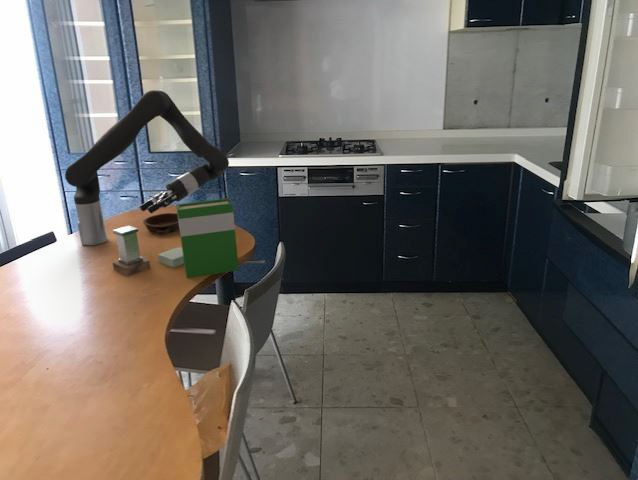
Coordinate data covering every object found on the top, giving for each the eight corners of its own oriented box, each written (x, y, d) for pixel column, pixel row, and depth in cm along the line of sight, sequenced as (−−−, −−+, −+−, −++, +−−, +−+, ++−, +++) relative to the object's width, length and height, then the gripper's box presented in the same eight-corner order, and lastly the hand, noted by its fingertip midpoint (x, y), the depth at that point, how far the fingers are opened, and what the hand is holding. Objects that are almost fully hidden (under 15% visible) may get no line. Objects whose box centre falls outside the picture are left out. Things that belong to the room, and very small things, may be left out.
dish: (140, 239, 210) (138, 228, 208) (149, 223, 230) (147, 212, 228) (183, 236, 212) (181, 225, 210) (188, 220, 232) (187, 209, 231)
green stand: (173, 267, 180) (172, 259, 179) (158, 261, 186) (157, 254, 185) (194, 259, 186) (193, 252, 185) (179, 254, 192) (178, 247, 191)
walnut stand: (127, 276, 174) (126, 268, 173) (113, 270, 180) (112, 262, 179) (150, 268, 180) (149, 260, 179) (136, 262, 186) (135, 254, 185)
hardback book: (235, 262, 183) (228, 198, 174) (238, 270, 176) (232, 203, 168) (185, 270, 178) (176, 204, 169) (186, 278, 171) (177, 210, 163)
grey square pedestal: (127, 266, 175) (121, 233, 171) (118, 262, 179) (112, 230, 175) (143, 260, 179) (137, 228, 175) (133, 256, 183) (128, 225, 179)
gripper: (170, 177, 190) (132, 199, 183) (185, 178, 179) (146, 202, 172) (180, 194, 194) (143, 217, 186) (195, 196, 182) (157, 220, 175)
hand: (144, 210), depth 179 cm, fingers open, 8 cm apart
